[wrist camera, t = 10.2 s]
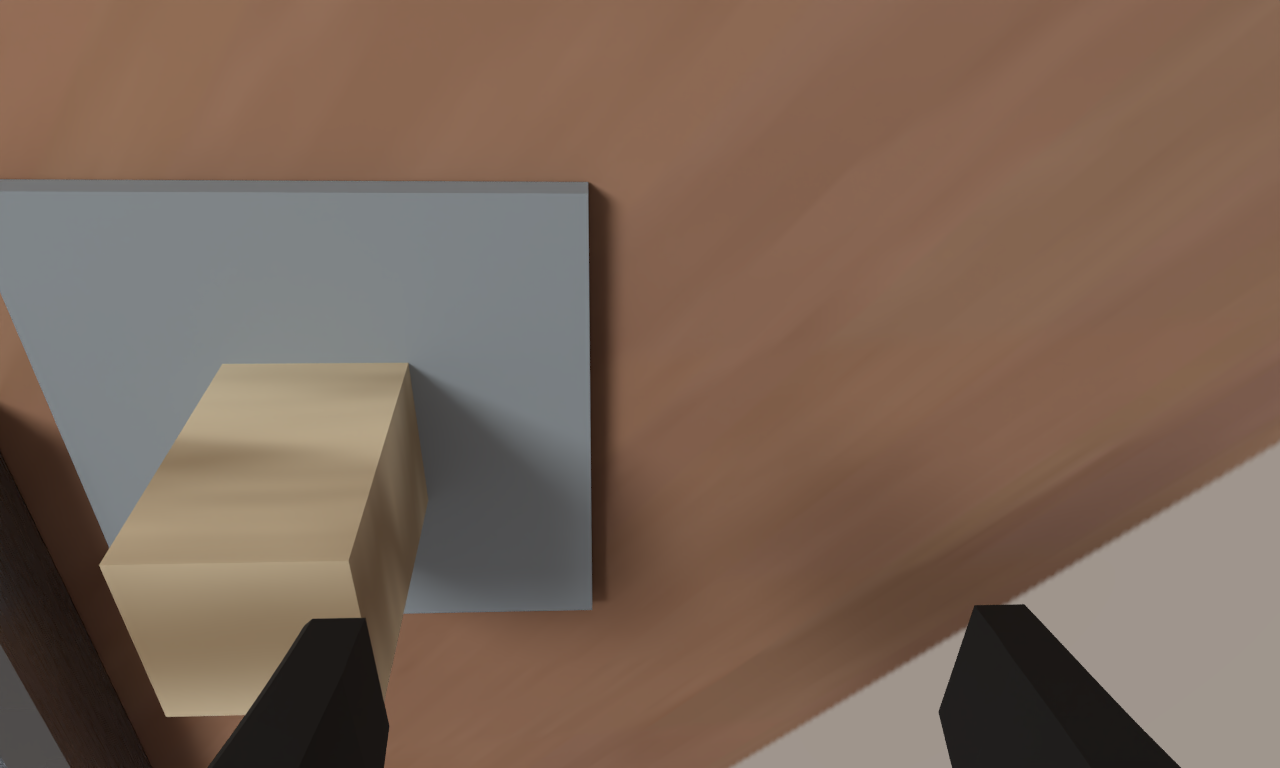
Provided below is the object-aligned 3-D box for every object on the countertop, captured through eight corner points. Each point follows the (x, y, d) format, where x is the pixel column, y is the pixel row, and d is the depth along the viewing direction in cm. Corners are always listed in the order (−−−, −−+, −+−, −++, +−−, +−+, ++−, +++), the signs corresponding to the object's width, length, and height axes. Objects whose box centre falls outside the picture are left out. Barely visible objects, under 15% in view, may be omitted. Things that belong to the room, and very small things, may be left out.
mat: (592, 593, 25) (592, 609, 25) (148, 601, 24) (139, 618, 24) (588, 182, 18) (588, 193, 18) (-26, 179, 18) (-43, 191, 17)
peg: (428, 499, 22) (381, 711, 17) (261, 501, 22) (166, 716, 17) (408, 362, 20) (348, 560, 15) (222, 364, 20) (98, 565, 15)
